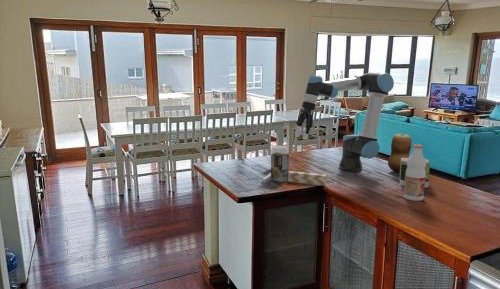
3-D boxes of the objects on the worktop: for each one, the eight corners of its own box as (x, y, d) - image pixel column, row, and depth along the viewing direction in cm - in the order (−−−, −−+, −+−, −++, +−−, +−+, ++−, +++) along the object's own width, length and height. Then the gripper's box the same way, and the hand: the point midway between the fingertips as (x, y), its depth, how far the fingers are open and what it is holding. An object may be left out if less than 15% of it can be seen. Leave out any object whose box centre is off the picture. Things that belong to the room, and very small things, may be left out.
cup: (285, 170, 251) (286, 148, 249) (270, 170, 253) (270, 148, 251) (287, 166, 262) (287, 145, 259) (272, 166, 264) (272, 145, 261)
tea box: (426, 183, 223) (428, 158, 220) (428, 188, 213) (430, 162, 210) (398, 181, 227) (400, 157, 225) (399, 185, 218) (401, 160, 215)
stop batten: (276, 174, 242) (276, 171, 241) (265, 183, 224) (265, 179, 223) (273, 174, 242) (273, 171, 242) (262, 182, 224) (262, 179, 224)
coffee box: (288, 180, 230) (289, 154, 227) (282, 182, 225) (282, 155, 222) (277, 177, 236) (277, 152, 233) (270, 179, 231) (270, 153, 228)
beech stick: (325, 184, 221) (326, 174, 220) (324, 186, 219) (325, 176, 217) (289, 180, 230) (289, 171, 229) (288, 181, 227) (288, 172, 226)
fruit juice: (401, 194, 202) (405, 143, 197) (420, 195, 201) (424, 143, 195) (406, 200, 193) (410, 146, 188) (425, 201, 191) (430, 147, 186)
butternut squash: (403, 175, 239) (406, 136, 234) (383, 171, 249) (386, 134, 244) (413, 171, 248) (416, 134, 243) (394, 168, 258) (396, 131, 253)
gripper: (296, 100, 230) (288, 134, 232) (311, 101, 206) (302, 139, 208) (307, 103, 232) (299, 136, 234) (324, 104, 208) (314, 142, 209)
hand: (300, 138), depth 221 cm, fingers open, 13 cm apart
